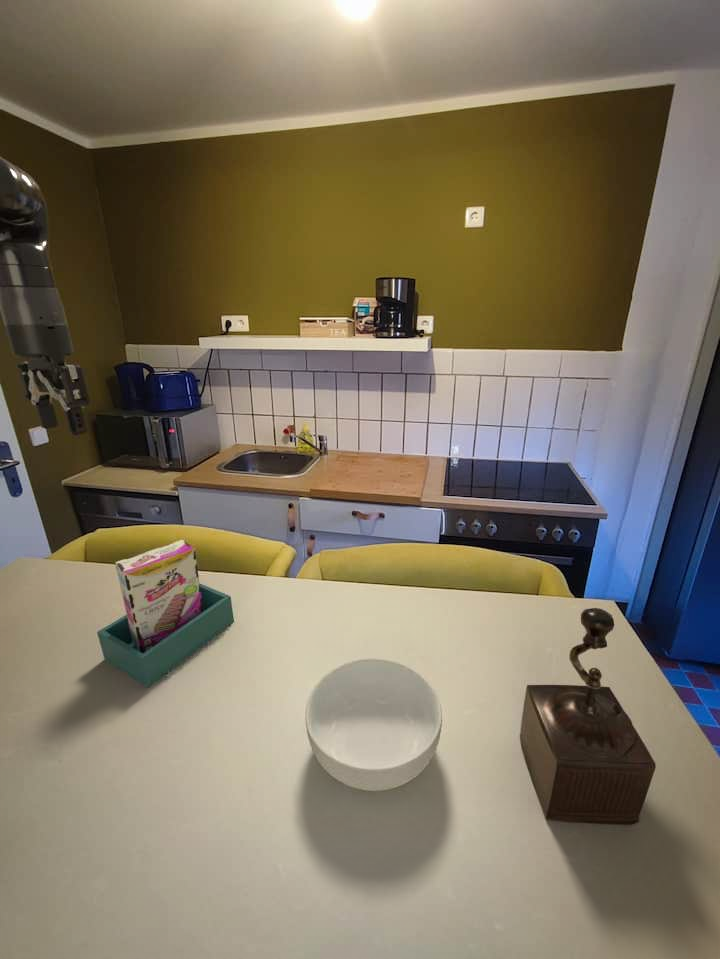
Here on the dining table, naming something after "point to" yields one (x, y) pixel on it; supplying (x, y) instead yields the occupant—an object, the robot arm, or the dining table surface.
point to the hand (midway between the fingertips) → (64, 430)
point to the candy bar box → (160, 592)
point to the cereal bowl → (373, 723)
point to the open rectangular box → (166, 640)
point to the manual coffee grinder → (585, 744)
